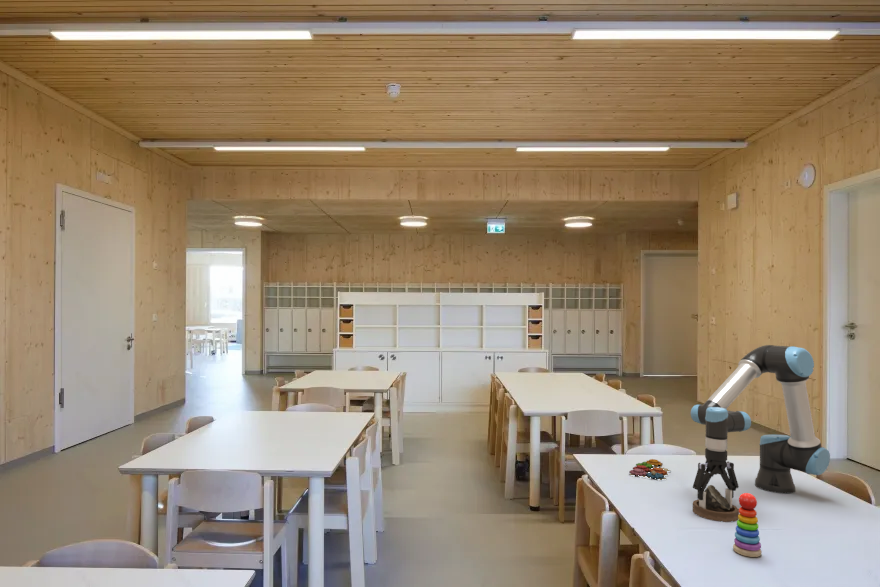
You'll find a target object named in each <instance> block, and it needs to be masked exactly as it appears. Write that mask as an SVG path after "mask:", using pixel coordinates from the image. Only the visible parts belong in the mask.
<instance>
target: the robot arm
mask: <svg viewBox="0 0 880 587" xmlns="http://www.w3.org/2000/svg"><path fill="white" fill-rule="evenodd" d="M814 362H815V361H814V359H813V355H812V354H811V353H810V352H809V351H808V350H807V349H806V348H804V347H797V346H790V345H789V346H787V345H773V344H766V345H761V346H758V347H756V348H754V349H752V350H751V351H749V352H748V353H746V355H744V356H743V357H742V358H741V359H740V360H739V361H738V364H737V365H738V366H737V367H736V369H734V371H733V372H732V373H731V374H729V376H728V377H727V378H726V379H725V380H724V381H723V383H722V384H720V386H719V387H718V388H717V389H716V390H715V391H714V392H713V393H712V394H711V395H710V396H709V398H708V399H707V400H706V401H705V402H704V403H703V404H694V405H693V406H692V407H691V409H690V417H691V420H692V421H693V422H695V423H696V424H700V425H703V426H704V425H705V436H704V437H705V440H704V442H705V449H704V453H705V454H704V457H705V462H704V463H702V462H698V464H697V472H696V475H695V478H694V482H693V485H692V488H693V489H694V490H696V491H697V500H698V499H699V506H700V507H702V508H704V509H706V492H704V491H705V490H706V488H707V487H708V484H709V482H710V480H711V478H712V477H714V475H720V476H721V478H722V481H723V482H724V484H725V486H726V488H725V490H724V491H725V498H726V500H727V501H728V503H729V505H730V508H732V505H733V498H734V493H735V491H737V489H739V487H740V486H739V483H738V479H737V476H736V473H735V469H734V468H735V464H734V463H733V462H730V461H728V451H727V450H728V433H735V432H736V433H737V432H740V433H741V432H744V431H747V430H749V429H750V427H751V426H752V419H751V416H750V415H749V413H747V412H745V411H740V410H736V411H733V410H732V411H731V410H727V409H728V408H730V406H731V405H732V404H733V403H734V402H735V400H737V398H739V396H740V395H741V394H742V392H744V390H745V389H746V388H747V387H748V386H749V385H750V384H751V383H752V382H753V381H754V379H758V378H760V377H761V375H762V374H766V373H767V374H768V373H770V374H775V380H776V381H777V382H778V383H780V384H781V389H782V395H783V400H784V407H785V412H786V416H787V418H786V419H787V422H788V427H789V428H788V429H789V433H790V435H786V434H763V435H761V436H760V440H759V469H758V471H757V476H756V478H755V479H754V485H755V487H757V488H758V489H761V490H763V491H767V492H771V493H772V492H773V493H777V494H794V493H796V486H795V485H796V484H794V479H793V477H792V472H791V470H794V471H798V472H803V473H806V474H807V475H814V476H820V475H822V474H823V473H825V472H826V471H827V469H828V467H829V466H830V462H831V453H830V451H829V450H828V449H827V448H825V447H822V443H821V439H819V438H818V437H817V436H816V435H815V428H814V427H815V426H814V423H813V416H812V411H811V406H810V400H809V394H808V388H807V382H808V380H810V376H811V375H812V374H813V372H814V369H815V368H814V367H815V363H814ZM793 492H794V493H793Z"/></svg>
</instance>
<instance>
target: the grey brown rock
mask: <svg viewBox="0 0 880 587" xmlns="http://www.w3.org/2000/svg"><path fill="white" fill-rule="evenodd" d="M704 492H706V509H707V510H709V509H718V508H719V509H722V510H724V511H726V512H728V511H729V510H730V505H729V503H728V501H727V500H726V498H725V497H724V496H723V495H722V494H721V492H720V491H719V490H718V489H717V488H716V487H715V486H714V485H713V484H710V485H707V486H706V488H705V490H704Z"/></svg>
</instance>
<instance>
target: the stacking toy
mask: <svg viewBox="0 0 880 587" xmlns="http://www.w3.org/2000/svg"><path fill="white" fill-rule="evenodd" d="M738 502H739V505H740V507H739V508H738V509H739V515H738V520H736V526H735V532H734V537H735V538H734V542H733V545H732V549H733V550H734V552H735V553H737V554H739V555H741V556H744V557H750V558H758V557H760V556H761V555H762V550H761V548H762V544H761V542H760V540H761V538H760V536H759V535H760V531H759V524H758V523H759V519H758V517H757V514H758V513H757V510H756V509H755V508H756V507H757V505H758V501H757V498H756V497H755V496H754V495H753V494H752V493H748V492H744V493H742V494H740V495H739V498H738Z"/></svg>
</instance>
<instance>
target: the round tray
mask: <svg viewBox="0 0 880 587" xmlns="http://www.w3.org/2000/svg"><path fill="white" fill-rule="evenodd" d="M692 512H693V513H694V515H696V514H697V515H696V516H698V515H699V516H698V517H700V518H704V519H707V520H710V521H716V522H721V521H723V523H730V522H731V521H733V522H737V521H738V520H739V519H738V515H739V514H740V513H739V508H738V506H736V505H734V504H732V508H730V510H729V511H728V512H726V511H724V510H722V509H719V508H718V509H709V510H707V509H704V508H702V507H700V506H699V499H698V498H697V499H695V500H693V501H692ZM731 523H732V522H731Z"/></svg>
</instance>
